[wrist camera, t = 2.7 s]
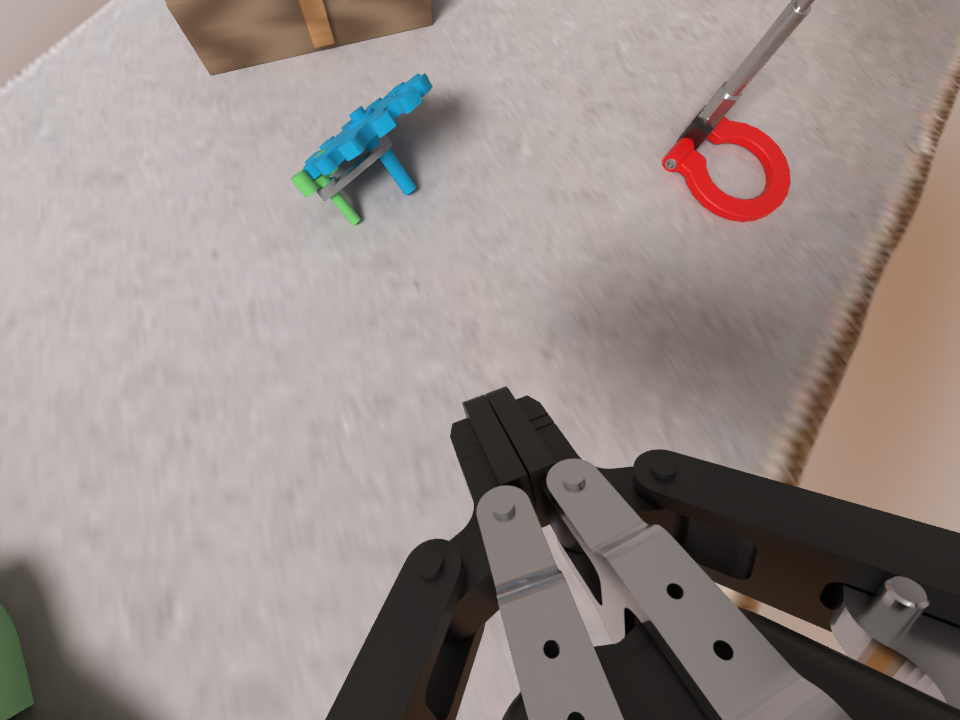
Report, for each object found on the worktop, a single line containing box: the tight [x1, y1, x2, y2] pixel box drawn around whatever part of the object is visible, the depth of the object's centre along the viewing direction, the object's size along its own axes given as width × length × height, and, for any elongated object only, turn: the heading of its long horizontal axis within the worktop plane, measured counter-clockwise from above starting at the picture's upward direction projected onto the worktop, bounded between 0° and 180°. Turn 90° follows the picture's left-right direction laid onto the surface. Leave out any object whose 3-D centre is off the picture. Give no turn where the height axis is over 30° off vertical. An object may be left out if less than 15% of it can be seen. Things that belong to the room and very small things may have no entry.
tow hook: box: [662, 0, 815, 222], centre depth 27 cm, size 8×13×9 cm
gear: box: [291, 73, 433, 225], centre depth 28 cm, size 11×6×10 cm
